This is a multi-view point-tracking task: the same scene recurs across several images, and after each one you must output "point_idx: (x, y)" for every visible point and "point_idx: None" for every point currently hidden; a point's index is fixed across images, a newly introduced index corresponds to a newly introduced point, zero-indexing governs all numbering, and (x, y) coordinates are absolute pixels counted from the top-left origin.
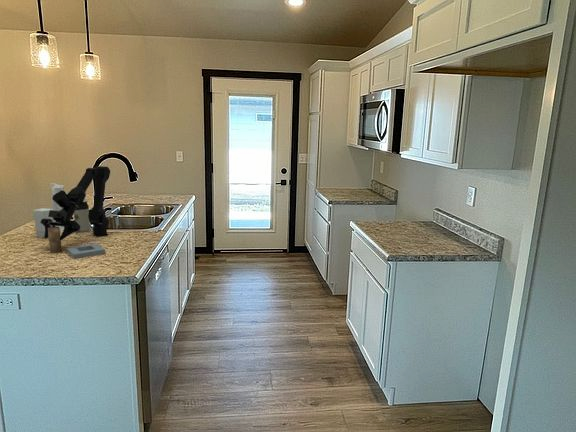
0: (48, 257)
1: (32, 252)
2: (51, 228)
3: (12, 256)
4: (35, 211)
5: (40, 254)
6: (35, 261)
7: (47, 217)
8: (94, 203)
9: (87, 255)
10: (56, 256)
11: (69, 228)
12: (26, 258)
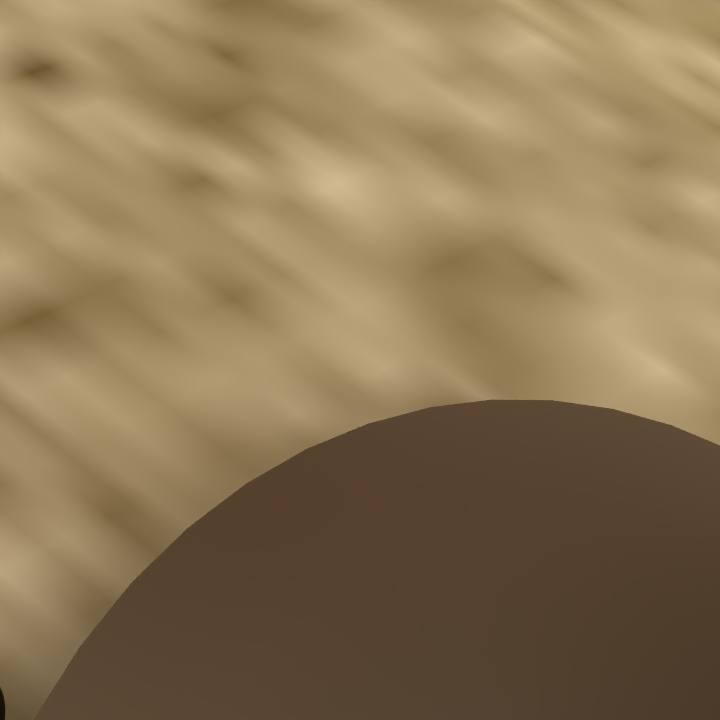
0: (105, 280)
1: (662, 362)
2: (506, 641)
3: (689, 77)
4: None
5: (419, 343)
6: (115, 37)
7: None
8: None
9: None
10: (7, 396)
11: None
12: (404, 89)
